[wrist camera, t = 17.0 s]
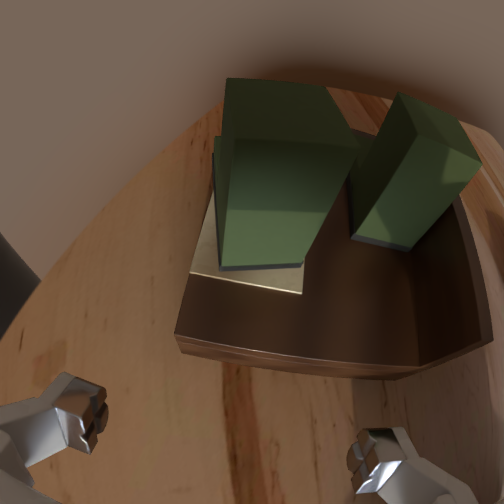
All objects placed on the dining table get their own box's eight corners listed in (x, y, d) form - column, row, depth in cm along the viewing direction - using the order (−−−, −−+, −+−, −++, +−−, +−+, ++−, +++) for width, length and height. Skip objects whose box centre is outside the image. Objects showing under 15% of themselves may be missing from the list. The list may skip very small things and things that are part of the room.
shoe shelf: (181, 353, 21) (157, 292, 11) (238, 139, 33) (250, 53, 24) (395, 380, 21) (494, 340, 12) (376, 172, 34) (415, 100, 25)
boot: (219, 272, 19) (231, 138, 10) (211, 160, 24) (220, 44, 15) (300, 268, 19) (363, 147, 11) (275, 160, 24) (302, 51, 16)
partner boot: (349, 239, 21) (416, 133, 13) (343, 153, 27) (381, 63, 18) (408, 253, 22) (484, 164, 13) (391, 167, 27) (436, 86, 18)
